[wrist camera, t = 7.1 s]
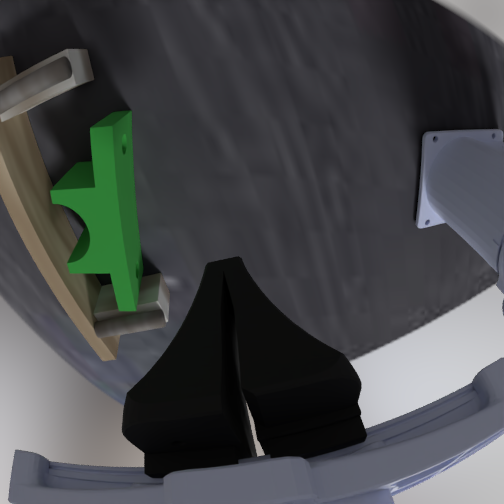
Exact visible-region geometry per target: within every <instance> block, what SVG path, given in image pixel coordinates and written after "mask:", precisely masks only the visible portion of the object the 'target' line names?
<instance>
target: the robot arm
mask: <svg viewBox="0 0 504 504" xmlns="http://www.w3.org/2000/svg"><path fill="white" fill-rule="evenodd" d="M434 136H435V139H434V141H433V137H434ZM426 220H427V221H426ZM425 221H426V222H425ZM445 222H446V223H447V224H448V225H449V226H450V227H451V228H453V229H454V230H455V231H456V232H457V233H458V234H459V235H460V236H461V237H462V238H463V239H464V240H465V241H466V242H467V243H468V244H469V245H471V246H472V247H473V248H474V249H475V250H476V251H477V252H478V253H479V254H480V255H481V256H482V257H483V258H484V259H485V260H486V261H487V263H488V264H489V265H490V266H491V267H492V268H493V269H494V270H495V271H496V272H497V273H498V274H499V279H498V282H497V284H496V286H497V287H498V288H499V289H500V290H501V292H502V293H503V294H504V143H503V132H502V131H501V130H499V129H473V130H449V131H432V132H426V133H425V134H424V135H423V138H422V159H421V175H420V187H419V198H418V207H417V216H416V226H417V227H418V228H425V227H429V226H433V225H437V224H441V223H445ZM502 309H503V315H504V300H503V307H502ZM360 391H361V381H360V378H359V376H358V374H357V373H356V371H355V369H354V368H353V366H352V365H351V363H350V362H349V361H348V359H347V358H346V357H345V355H344V354H343V353H341V352H339V351H337V350H335V349H333V348H331V347H330V346H328V345H326V344H324V343H322V342H321V341H319V340H318V339H316V338H314V337H313V336H311V335H310V334H308V333H307V332H306V331H304V330H303V329H302V328H300V327H299V326H297V325H296V324H295V323H293V322H292V321H291V320H290V319H289V318H288V317H286V316H285V315H284V314H283V313H282V312H281V311H280V310H279V309H278V308H277V307H276V306H275V305H274V304H273V303H272V302H271V301H270V300H269V299H268V298H267V297H266V296H265V294H264V293H263V292H262V291H261V290H260V288H259V287H258V286H257V284H256V283H255V282H254V280H253V279H252V277H251V276H250V274H249V273H248V271H247V269H246V268H245V266H244V263H243V261H242V258H240V257H239V256H238V257H233V258H228V259H223V260H219V261H214V262H209V263H207V265H206V267H205V271H204V274H203V277H202V280H201V283H200V286H199V289H198V291H197V294H196V296H195V299H194V301H193V304H192V306H191V308H190V310H189V312H188V314H187V316H186V318H185V320H184V322H183V324H182V326H181V328H180V329H179V331H178V333H177V334H176V336H175V337H174V339H173V340H172V342H171V343H170V345H169V346H168V348H167V349H166V351H165V352H164V353H163V355H162V356H161V357H160V359H159V360H158V361H157V362H156V363H155V365H154V366H153V367H152V368H151V369H150V371H149V372H148V373H147V374H146V375H145V376H144V377H143V378H142V379H141V380H140V381H139V382H138V383H137V384H136V385H135V386H134V387H133V388H132V389H131V390H130V391H129V392H127V396H126V400H125V404H124V410H123V423H122V433H123V435H124V436H125V437H126V439H127V440H128V441H130V442H131V443H132V444H133V445H135V446H136V447H137V448H139V449H140V450H141V451H143V452H144V453H145V454H144V455H145V456H144V459H145V460H144V464H145V465H144V467H104V466H89V465H77V464H67V463H59V462H51V461H49V460H47V459H46V458H45V457H43V456H41V455H39V454H36V453H33V452H28V451H22V450H15V454H14V460H13V466H12V473H11V480H10V488H9V498H8V500H9V502H10V503H12V504H394V501H393V498H392V496H394V495H396V494H398V493H401V492H403V491H405V490H407V489H410V488H412V487H414V486H416V485H418V484H420V483H422V482H424V481H426V480H428V479H430V478H432V477H434V476H436V475H438V474H440V473H441V472H443V471H445V470H447V469H448V468H450V467H452V466H454V465H456V464H457V463H459V462H461V461H463V460H464V459H465V458H467V457H469V456H471V455H472V454H474V453H476V452H477V451H479V450H480V449H482V448H483V447H485V446H487V445H488V444H490V443H491V442H492V441H494V440H496V439H497V438H498V437H500V436H501V435H503V434H504V358H500V359H499V360H497V361H495V362H494V363H492V364H490V365H488V366H487V367H485V368H483V369H482V370H481V371H480V372H479V373H478V374H477V375H476V376H475V377H474V379H473V381H472V383H470V384H468V385H467V386H465V387H463V388H461V389H459V390H457V391H455V392H453V393H451V394H449V395H447V396H445V397H443V398H441V399H439V400H437V401H434V402H432V403H430V404H428V405H426V406H423V407H421V408H419V409H416V410H414V411H412V412H409V413H407V414H404V415H402V416H399V417H397V418H395V419H392V420H389V421H386V422H384V423H381V424H378V425H376V426H373V427H370V428H367V429H365V428H364V425H363V422H362V420H361V417H360V415H361V410H360V408H359V405H358V399H359V395H360ZM246 402H247V404H248V407H249V410H250V412H251V415H252V417H253V420H254V424H255V430H256V435H257V440H258V441H259V442H260V445H261V447H262V449H263V451H264V454H265V455H264V456H258V457H257V453H256V449H255V444H254V439H253V435H252V430H251V425H250V420H249V416H248V410H247V406H246Z"/></svg>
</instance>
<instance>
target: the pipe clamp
mask: <svg viewBox="0 0 504 504" xmlns="http://www.w3.org/2000/svg"><path fill="white" fill-rule="evenodd" d="M90 138H91V151H92V161H87V162H77V163H76V164H75V165H74V166H73V167H72V168H71V169H70V170H69V171H68V172H67V173H66V174H65V175H64V176H63V177H62V178H61V179H60V180H59V182H58V183H57V184H56V185H55V186H54V187H53V188H52V189H51V190H50V193H51V199H52V204H60V205H64V206H67V207H69V208H71V209H72V210H74V211H75V212H76V213H78V214H79V215H80V216H81V218H82V219H83V220H84V222H85V223H86V227H85V229H84V230H83V232H82V234H81V236H80V238H79V240H78V242H77V244H76V246H75V248H74V250H73V252H72V254H71V256H70V258H69V260H68V262H67V266H68V269H69V273H70V274H99V273H110V275H111V280H112V284H113V288H114V293H115V297H116V301H117V305H118V309H119V311H136V309H137V303H138V297H139V291H140V285H141V280H142V274H143V269H144V268H143V261H142V253H141V245H140V237H139V228H138V218H137V207H136V196H135V183H134V167H133V147H132V110H131V111H117V112H112V113H111V114H109V115H108V116H106V117H105V118H103V119H102V120H101V121H99V122H98V123H96V124H95V125H93V126H92V127H91V128H90Z"/></svg>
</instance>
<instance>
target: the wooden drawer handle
mask: <svg viewBox="0 0 504 504" xmlns="http://www.w3.org/2000/svg"><path fill="white" fill-rule="evenodd" d="M92 80H95V79H94V75H93V71H92V67H91V63H90V59H89V55H88V51H87V49H66V50H64V51H62V52H60V53H58V54H56V55H54V56H51V57H50V58H48V59H46V60H44V61H42V62H40V63H38V64H36V65H34V66H32V67H31V68H29V69H27V70H25V71H23V72H22V73H20V74H18V75H17V74H16V70H15V66H14V61H13V56H7V57H0V194H1V196H2V199H3V201H4V203H5V205H6V207H7V210H8V212H9V214H10V216H11V218H12V220H13V222H14V224H15V226H16V228H17V230H18V232H19V234H20V236H21V238H22V240H23V241H24V243H25V245H26V247H27V249H28V251H29V252H30V254H31V256H32V258H33V260H34V261H35V263H36V265H37V266H38V268H39V270H40V272H41V273H42V275H43V277H44V278H45V280H46V281H47V283H48V285H49V286H50V288H51V289H52V291H53V293H54V294H55V296H56V297H57V299H58V300H59V302H60V303H61V305H62V306H63V308H64V309H65V311H66V312H67V314H68V315H69V316H70V318H71V319H72V321H73V322H74V324H75V325H76V326H77V328H78V329H79V331H80V332H81V333H82V335H83V336H84V337H85V339H86V340H87V341H88V343H89V344H90V345H91V347H92V348H93V349H94V350H95V352H96V353H97V354H98V356H99V357H100V358H101V359H102V361H107V360H115V359H116V357H117V350H118V344H119V338H120V335H122V334H128V333H134V332H140V331H145V330H151V329H156V328H162V327H165V326H166V322H168V314H169V297H170V292H169V290H168V288H167V285H166V283H165V281H164V278H163V276H162V274H161V273H158V274H153V275H149V276H144V277H142V280H141V285H140V291H139V297H138V303H137V309H136V311H119V309H118V305H117V301H116V297H115V293H114V288H113V284H109V285H104V286H101V284H100V282H99V280H98V279H97V277H96V275H95V274H70V273H69V269H68V266H67V262H68V260H69V258H70V256H71V254H72V252H73V250H74V248H75V246H76V244H77V242H78V240H77V238H76V236H75V234H74V232H73V230H72V228H71V226H70V223H69V221H68V219H67V217H66V215H65V213H64V210H63V208H62V206H61V205H60V204H52V199H51V193H50V190H51V189H52V188H53V185H52V182H51V180H50V177H49V175H48V172H47V169H46V167H45V164H44V162H43V159H42V156H41V153H40V151H39V148H38V145H37V142H36V139H35V136H34V133H33V130H32V127H31V124H30V121H29V118H28V115H27V110H29V109H31V108H33V107H35V106H37V105H39V104H41V103H43V102H45V101H47V100H49V99H51V98H53V97H55V96H58V95H60V94H62V93H64V92H66V91H69V90H71V89H73V88H75V87H78V86H80V85H83V84H85V83H87V82H90V81H92Z"/></svg>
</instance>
